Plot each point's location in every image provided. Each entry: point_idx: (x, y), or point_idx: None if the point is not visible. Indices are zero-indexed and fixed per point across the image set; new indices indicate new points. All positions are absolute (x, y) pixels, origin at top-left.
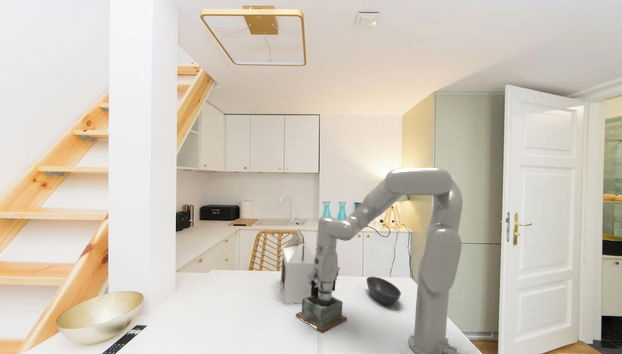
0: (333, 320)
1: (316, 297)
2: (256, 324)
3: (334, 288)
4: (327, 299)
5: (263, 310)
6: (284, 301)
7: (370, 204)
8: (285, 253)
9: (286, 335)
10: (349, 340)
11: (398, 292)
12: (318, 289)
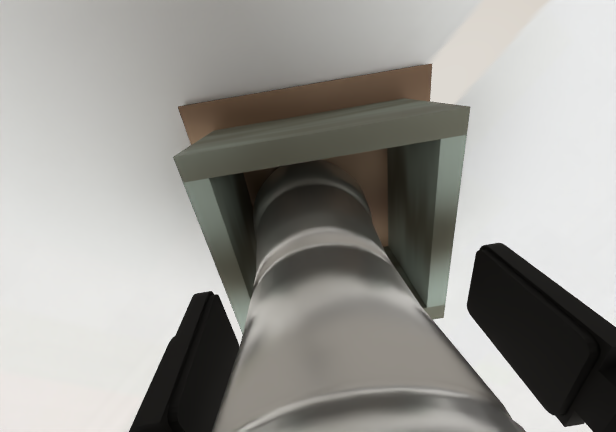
0: (297, 117)
1: (497, 248)
2: (574, 272)
3: (195, 313)
4: (343, 216)
5: (480, 335)
6: None
7: None
8: None
9: (567, 152)
10: None
11: None
12: (561, 315)
